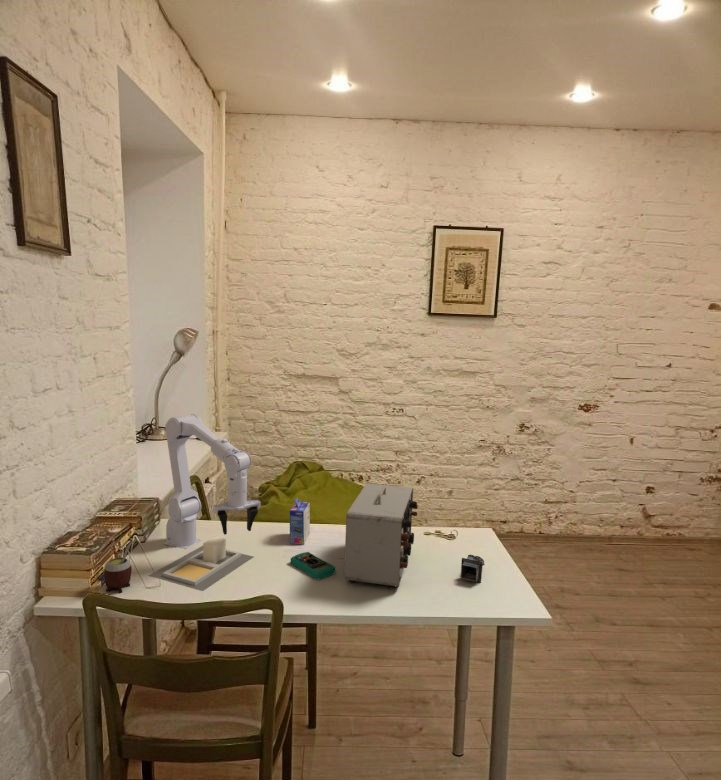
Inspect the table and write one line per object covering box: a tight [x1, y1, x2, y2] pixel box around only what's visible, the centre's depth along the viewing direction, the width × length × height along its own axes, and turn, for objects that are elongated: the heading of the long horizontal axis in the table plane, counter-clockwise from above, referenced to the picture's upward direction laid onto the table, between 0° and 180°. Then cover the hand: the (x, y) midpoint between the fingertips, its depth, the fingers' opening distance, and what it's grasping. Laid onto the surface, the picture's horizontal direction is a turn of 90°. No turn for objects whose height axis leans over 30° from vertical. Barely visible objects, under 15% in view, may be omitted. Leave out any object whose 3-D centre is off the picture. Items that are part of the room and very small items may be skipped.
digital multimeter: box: [290, 551, 336, 581], centre depth 166 cm, size 7×15×3 cm, turn 42°
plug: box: [202, 536, 227, 564], centre depth 169 cm, size 4×7×6 cm, turn 157°
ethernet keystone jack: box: [460, 554, 486, 583], centre depth 166 cm, size 6×13×6 cm, turn 157°
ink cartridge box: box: [289, 497, 311, 545], centre depth 188 cm, size 10×6×14 cm, turn 174°
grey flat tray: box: [148, 545, 254, 592], centre depth 164 cm, size 20×25×2 cm
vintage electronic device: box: [343, 483, 418, 589], centre depth 169 cm, size 32×18×25 cm, turn 168°
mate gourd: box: [103, 538, 138, 594], centre depth 149 cm, size 8×8×15 cm
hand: (236, 531), depth 169 cm, fingers open, 7 cm apart
